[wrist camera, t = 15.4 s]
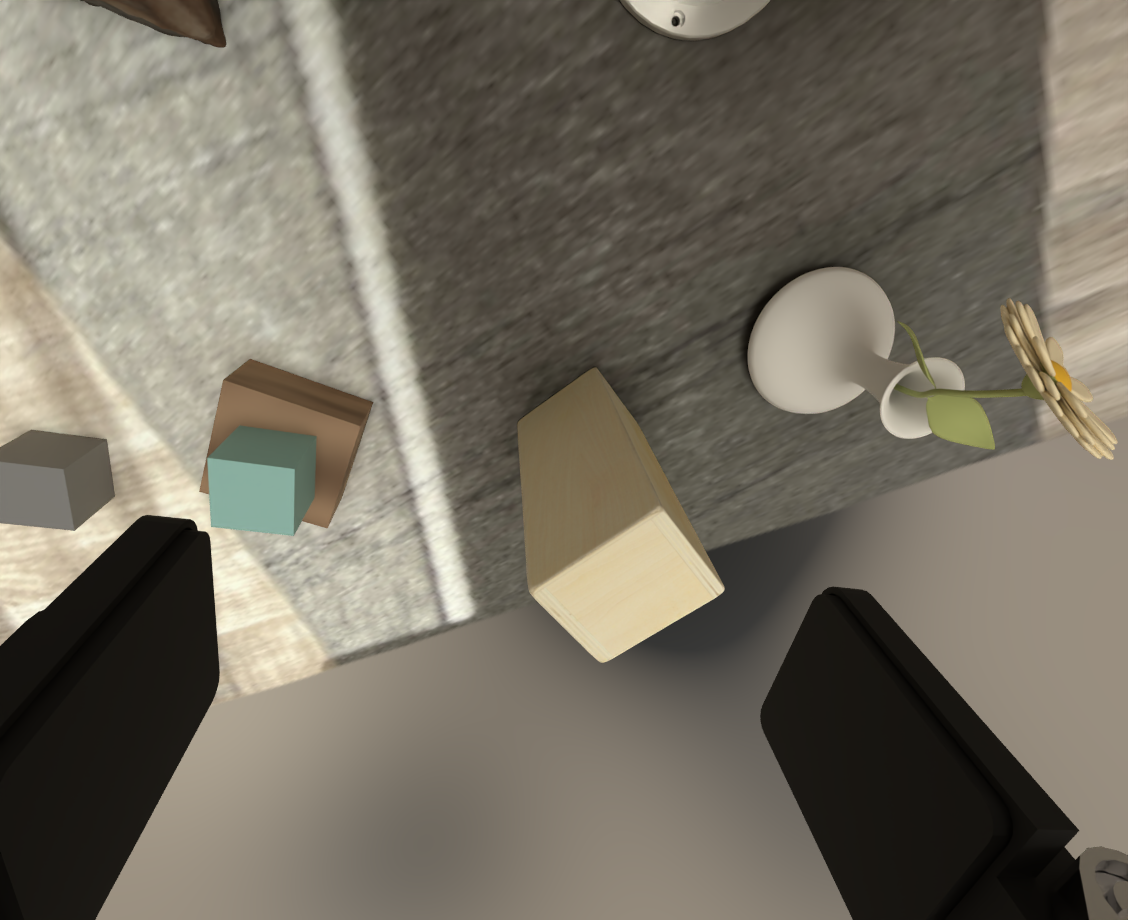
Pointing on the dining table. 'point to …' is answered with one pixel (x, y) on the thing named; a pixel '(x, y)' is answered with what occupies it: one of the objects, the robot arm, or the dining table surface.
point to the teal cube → (262, 480)
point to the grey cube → (53, 480)
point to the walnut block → (295, 424)
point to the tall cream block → (605, 523)
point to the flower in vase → (898, 364)
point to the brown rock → (173, 17)
